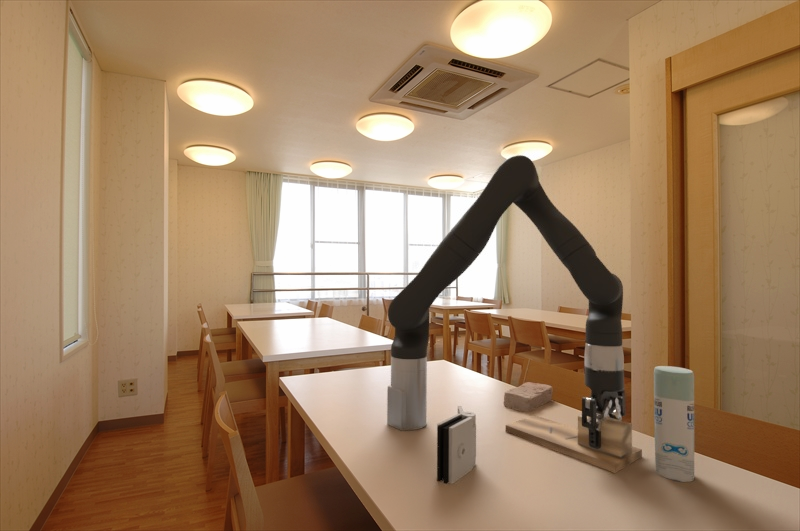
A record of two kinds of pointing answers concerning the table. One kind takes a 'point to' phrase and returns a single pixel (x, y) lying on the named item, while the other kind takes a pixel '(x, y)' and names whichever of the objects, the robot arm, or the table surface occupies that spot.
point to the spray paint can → (674, 422)
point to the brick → (528, 396)
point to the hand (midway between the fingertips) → (604, 442)
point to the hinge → (456, 446)
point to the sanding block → (609, 437)
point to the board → (567, 442)
